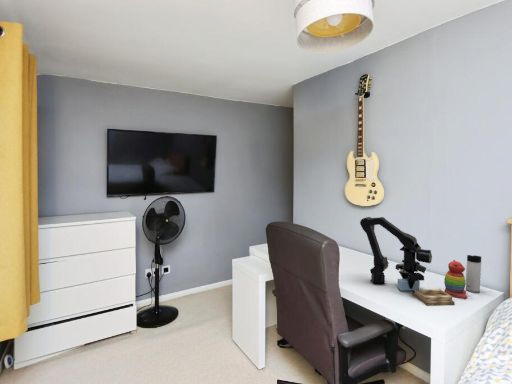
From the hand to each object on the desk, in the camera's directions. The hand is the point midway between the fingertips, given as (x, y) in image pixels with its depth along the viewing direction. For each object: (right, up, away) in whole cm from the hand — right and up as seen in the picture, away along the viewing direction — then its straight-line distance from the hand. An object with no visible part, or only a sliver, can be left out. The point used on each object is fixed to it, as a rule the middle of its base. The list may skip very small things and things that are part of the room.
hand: (408, 286), depth 161 cm
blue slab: (0, -1, 0) cm, 1 cm away
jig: (+6, -3, -12) cm, 14 cm away
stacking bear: (+22, -2, -5) cm, 23 cm away
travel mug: (+34, -2, -2) cm, 34 cm away
